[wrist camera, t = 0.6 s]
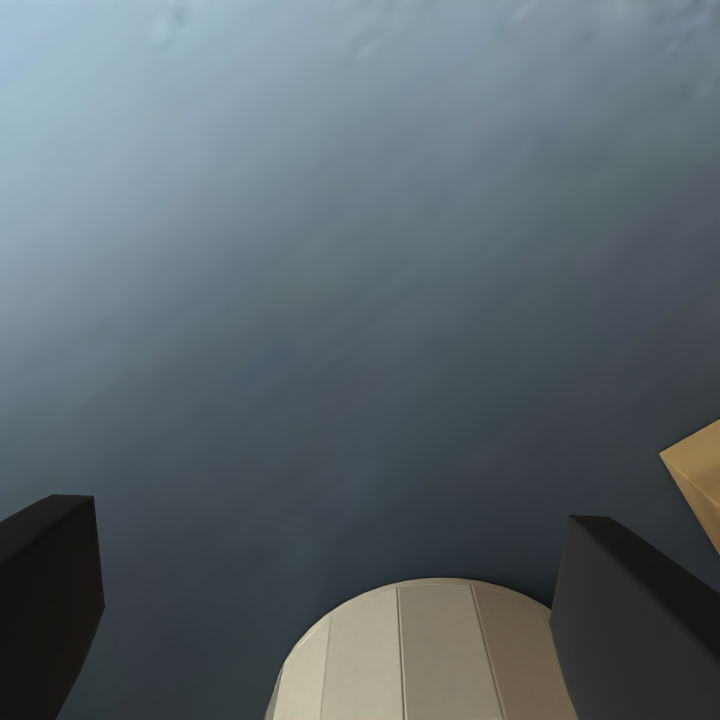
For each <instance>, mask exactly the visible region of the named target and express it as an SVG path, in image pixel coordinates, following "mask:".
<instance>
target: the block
mask: <svg viewBox="0 0 720 720" xmlns="http://www.w3.org/2000/svg"><path fill="white" fill-rule="evenodd" d="M659 455H660V457H661V458H662V460H663V462H664V463H665V465H666V467H667V468H668V470H669V472H670V473H671V475H672V477H673V478H674V480H675V482H676V483H677V485H678V487H679V488H680V490H681V492H682V493H683V495H684V497H685V498H686V500H687V502H688V503H689V505H690V507H691V508H692V510H693V512H694V513H695V515H696V517H697V518H698V520H699V522H700V524H701V525H702V527H703V529H704V530H705V532H706V534H707V535H708V537H709V539H710V540H711V542H712V544H713V545H714V547H715V549H716V550H717V552H718V554H719V555H720V419H719V420H717V421H715V422H713V423H712V424H710V425H708V426H706V427H705V428H703V429H701V430H699V431H697V432H696V433H694V434H692V435H690V436H689V437H687V438H685V439H683V440H682V441H680V442H678V443H676V444H675V445H673V446H671V447H669V448H667V449H666V450H664V451H662V452H660V453H659Z"/></svg>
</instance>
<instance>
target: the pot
mask: <svg viewBox="0 0 720 720" xmlns="http://www.w3.org/2000/svg"><path fill="white" fill-rule="evenodd" d="M550 615H551V610H550V609H549V608H547V607H546V606H544V605H543V604H541V603H539V602H537V601H535V600H533V599H531V598H530V597H528V596H526V595H524V594H521V593H518V592H516V591H513V590H511V589H508V588H505V587H503V586H499V585H495V584H491V583H487V582H483V581H477V580H469V579H461V578H424V579H415V580H407V581H403V582H398V583H394V584H389V585H385V586H382V587H380V588H377V589H374V590H371V591H368V592H365V593H363V594H361V595H359V596H357V597H355V598H353V599H351V600H349V601H347V602H345V603H343V604H341V605H340V606H338V607H337V608H335V609H334V610H332V611H331V612H329V613H328V614H326V615H325V616H324V617H323V618H322V619H320V620H319V621H318V622H317V623H316V624H315V625H314V626H312V627H311V628H310V629H309V630H308V631H307V632H306V633H305V635H304V636H303V637H302V638H301V639H300V640H299V642H298V643H297V644H296V645H295V646H294V648H293V650H292V651H291V653H290V654H289V656H288V657H287V659H286V660H285V662H284V664H283V666H282V669H281V671H280V673H279V675H278V678H277V680H276V684H275V687H274V691H273V694H272V698H271V701H270V703H269V706H268V709H267V712H266V714H265V719H264V720H578V717H577V715H576V712H575V710H574V707H573V705H572V702H571V700H570V697H569V695H568V692H567V689H566V686H565V683H564V679H563V676H562V672H561V668H560V665H559V661H558V658H557V654H556V650H555V646H554V642H553V638H552V634H551V630H550V626H549V620H550Z"/></svg>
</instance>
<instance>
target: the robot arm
mask: <svg viewBox="0 0 720 720" xmlns="http://www.w3.org/2000/svg"><path fill="white" fill-rule="evenodd" d="M104 608H105V605H104V595H103V584H102V574H101V564H100V554H99V544H98V534H97V524H96V514H95V504H94V496H83V495H58V494H52V495H50V496H48V497H46V498H44V499H42V500H40V501H38V502H36V503H34V504H32V505H30V506H28V507H26V508H24V509H23V510H21V511H19V512H17V513H15V514H14V515H12V516H10V517H8V518H6V519H5V520H3V521H1V522H0V720H55V719H56V717H57V715H58V713H59V711H60V710H61V708H62V706H63V704H64V702H65V700H66V698H67V696H68V694H69V693H70V691H71V689H72V687H73V685H74V683H75V681H76V679H77V677H78V675H79V673H80V671H81V668H82V666H83V663H84V661H85V659H86V656H87V654H88V651H89V649H90V646H91V644H92V641H93V638H94V636H95V633H96V630H97V627H98V625H99V622H100V619H101V617H102V614H103V611H104ZM549 626H550V630H551V634H552V638H553V642H554V646H555V650H556V654H557V658H558V661H559V665H560V668H561V672H562V676H563V679H564V683H565V686H566V689H567V692H568V695H569V697H570V700H571V702H572V705H573V707H574V710H575V712H576V715H577V717H578V720H720V594H719V593H717V592H716V591H715V590H713V589H712V588H710V587H709V586H708V585H706V584H705V583H703V582H702V581H700V580H699V579H698V578H696V577H695V576H693V575H692V574H691V573H689V572H688V571H687V570H685V569H684V568H682V567H681V566H680V565H678V564H677V563H675V562H674V561H673V560H671V559H670V558H668V557H667V556H666V555H664V554H663V553H662V552H660V551H659V550H657V549H656V548H655V547H653V546H652V545H650V544H649V543H648V542H646V541H645V540H643V539H642V538H640V537H639V536H638V535H636V534H635V533H633V532H632V531H630V530H629V529H627V528H626V527H624V526H623V525H621V524H620V523H618V522H616V521H615V520H613V519H612V518H610V517H600V516H575V515H569V519H568V524H567V529H566V535H565V540H564V545H563V551H562V556H561V561H560V567H559V572H558V578H557V583H556V588H555V594H554V599H553V604H552V610H551V615H550V620H549Z"/></svg>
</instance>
